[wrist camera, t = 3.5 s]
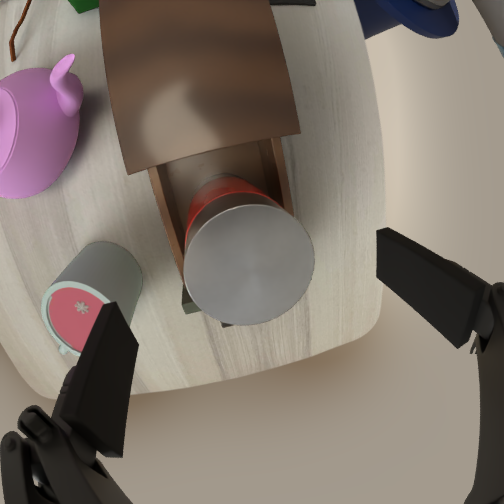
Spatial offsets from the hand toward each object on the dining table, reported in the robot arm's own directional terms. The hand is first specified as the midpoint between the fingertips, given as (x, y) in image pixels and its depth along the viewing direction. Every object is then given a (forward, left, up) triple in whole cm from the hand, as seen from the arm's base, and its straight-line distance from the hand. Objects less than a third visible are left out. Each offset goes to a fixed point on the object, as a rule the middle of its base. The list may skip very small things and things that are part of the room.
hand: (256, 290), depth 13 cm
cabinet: (0, -15, -19) cm, 24 cm away
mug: (+18, +6, -19) cm, 27 cm away
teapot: (+18, -15, -19) cm, 30 cm away
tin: (0, 0, -17) cm, 17 cm away
